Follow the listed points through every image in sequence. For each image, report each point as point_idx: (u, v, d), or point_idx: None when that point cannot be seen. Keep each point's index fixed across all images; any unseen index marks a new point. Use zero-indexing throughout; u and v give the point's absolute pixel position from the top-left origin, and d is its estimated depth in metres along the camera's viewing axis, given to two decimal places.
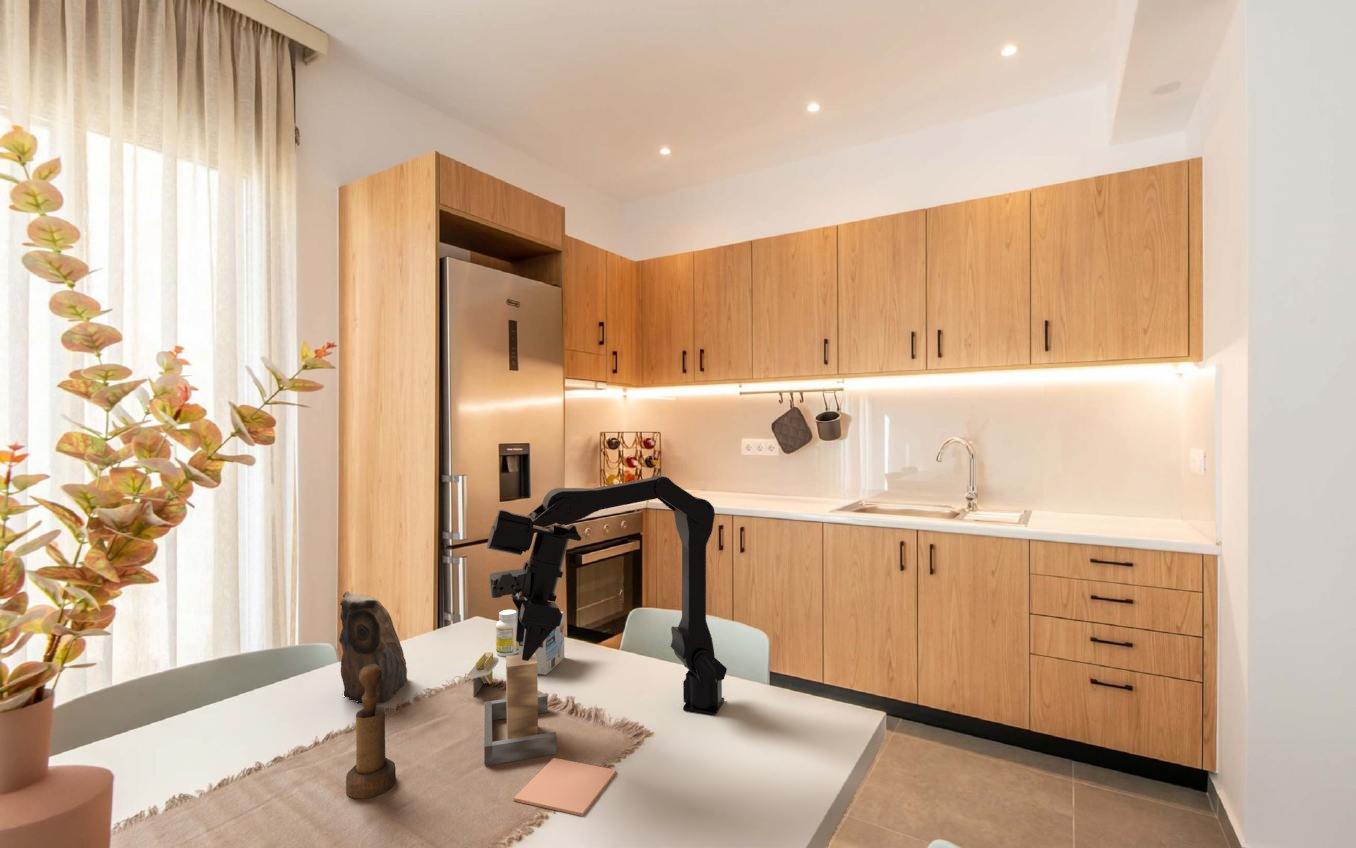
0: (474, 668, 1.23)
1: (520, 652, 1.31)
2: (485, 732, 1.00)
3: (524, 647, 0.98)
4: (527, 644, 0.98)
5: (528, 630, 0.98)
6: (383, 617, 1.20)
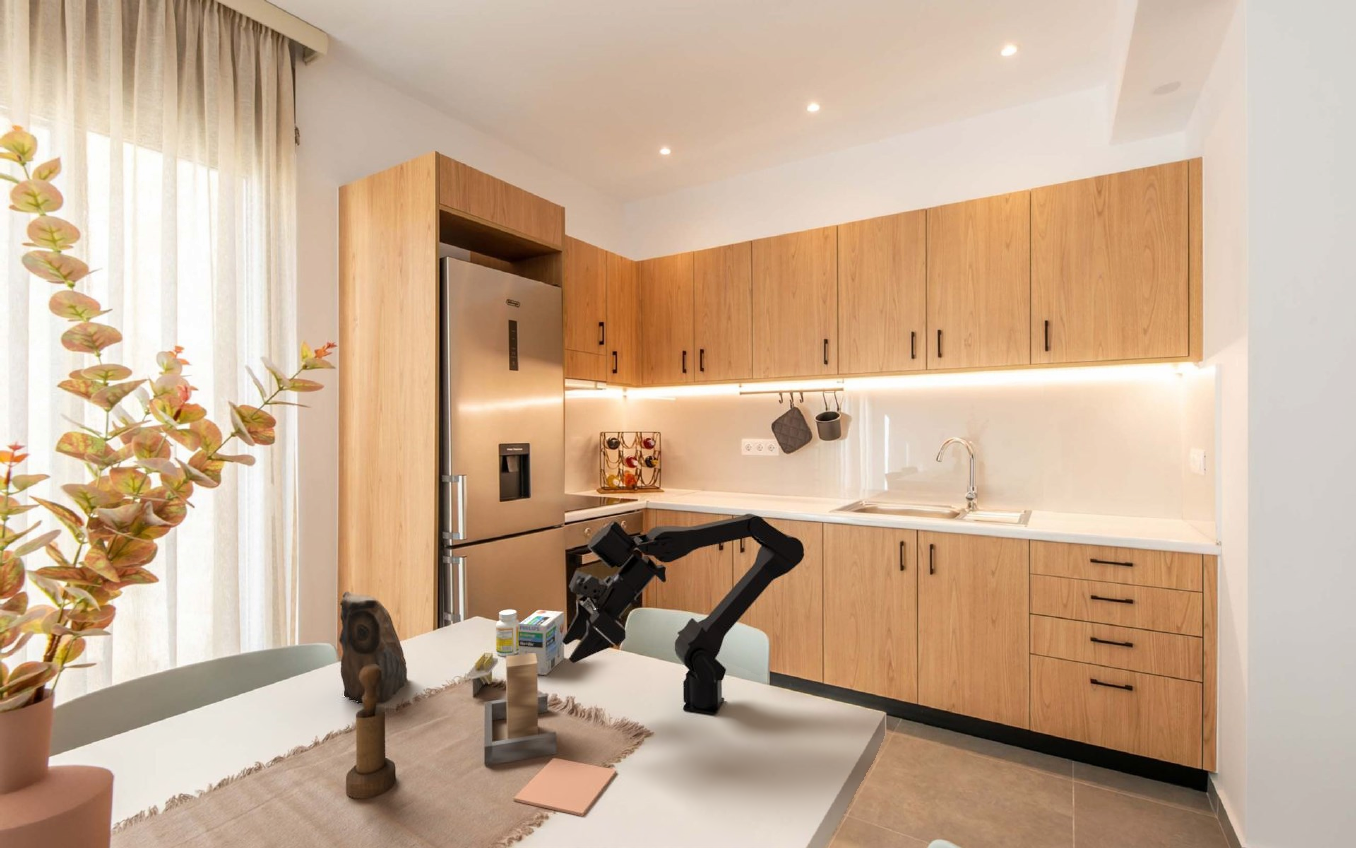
0: (473, 668, 1.23)
1: (520, 652, 1.31)
2: (485, 732, 1.00)
3: (577, 649, 1.03)
4: (581, 647, 1.03)
5: (589, 636, 1.03)
6: (383, 617, 1.20)
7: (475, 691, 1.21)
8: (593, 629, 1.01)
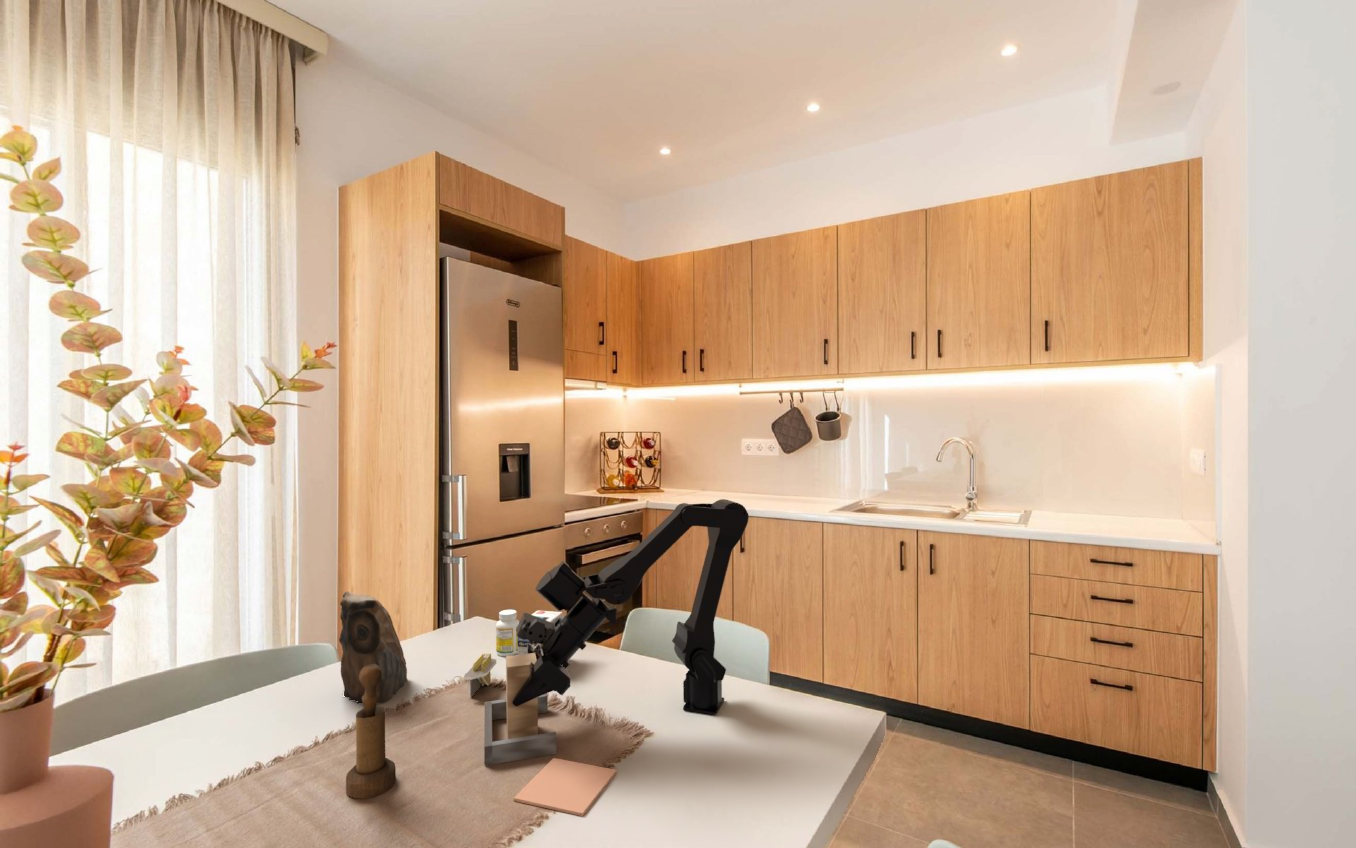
0: (471, 669, 1.22)
1: (519, 653, 1.31)
2: (485, 732, 1.00)
3: (520, 692, 1.02)
4: (524, 691, 1.02)
5: (532, 679, 1.02)
6: (383, 617, 1.20)
7: (473, 692, 1.21)
8: (535, 673, 1.00)
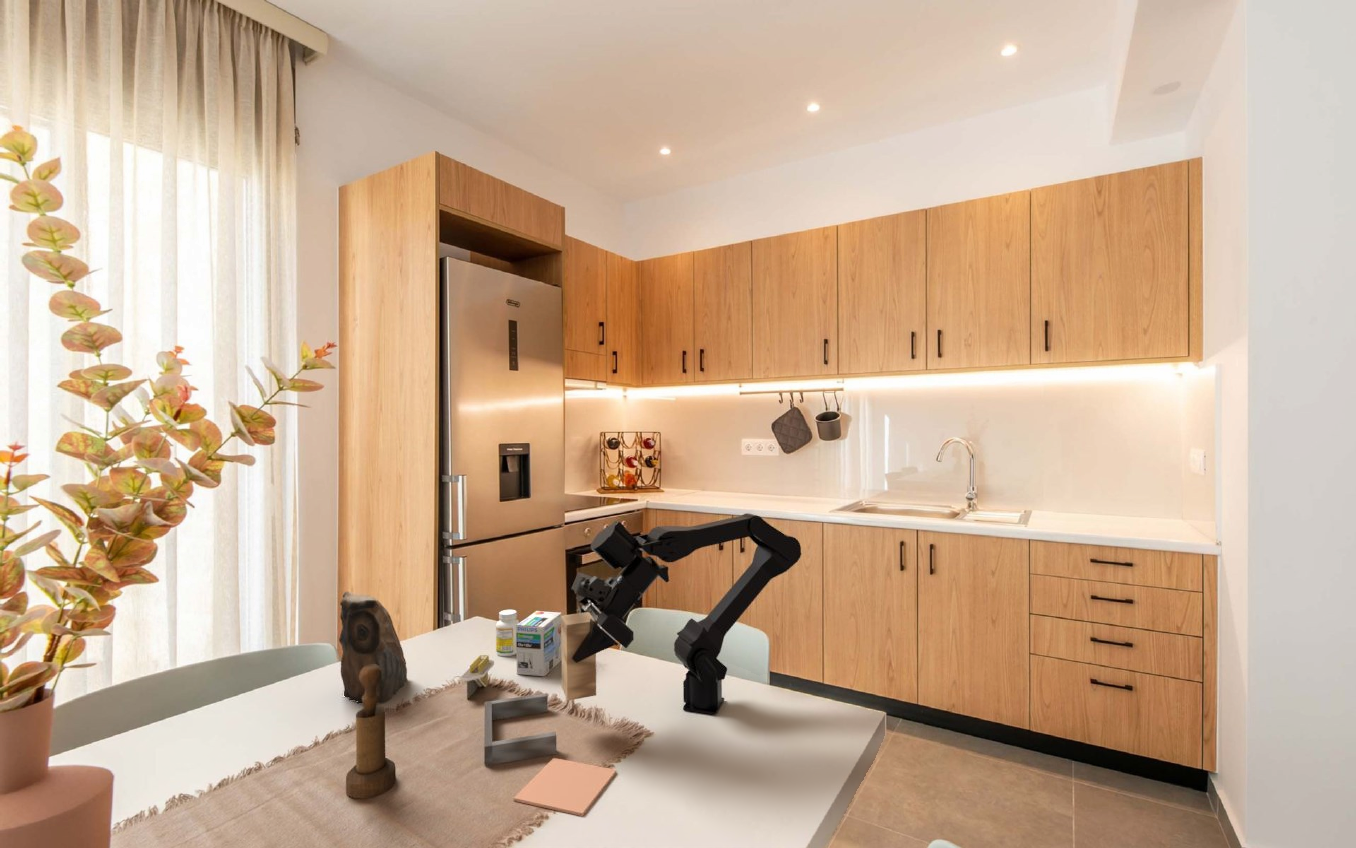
0: (468, 671, 1.22)
1: (518, 653, 1.31)
2: (485, 732, 1.00)
3: (581, 648, 1.03)
4: (585, 647, 1.03)
5: (593, 635, 1.03)
6: (383, 617, 1.20)
7: (469, 694, 1.20)
8: (598, 628, 1.01)
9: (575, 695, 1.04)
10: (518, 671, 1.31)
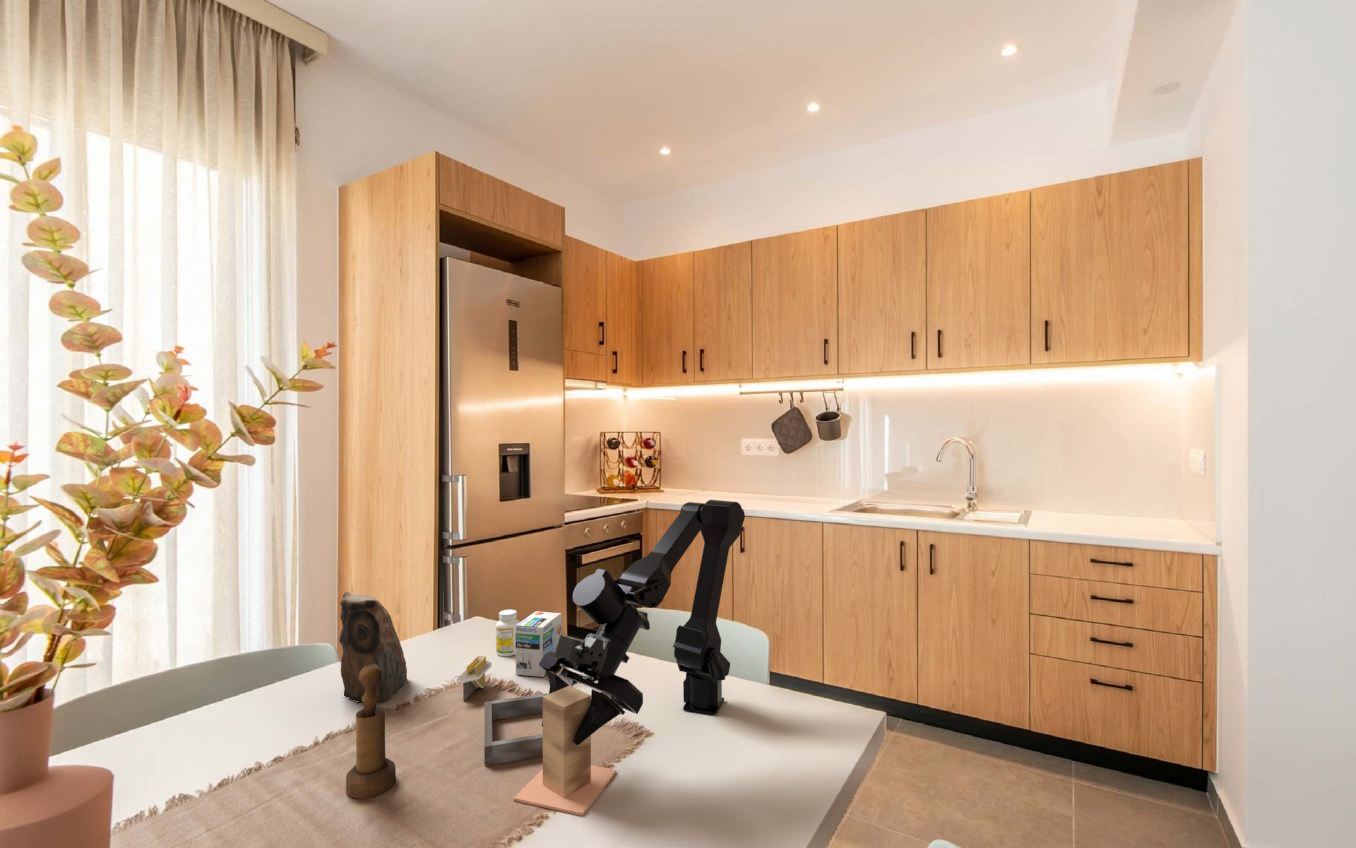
0: (465, 672, 1.21)
1: (517, 654, 1.30)
2: (485, 732, 1.00)
3: (584, 727, 0.87)
4: (588, 724, 0.87)
5: (598, 708, 0.88)
6: (383, 617, 1.20)
7: (466, 695, 1.20)
8: (608, 699, 0.87)
9: (571, 789, 0.88)
10: (517, 671, 1.30)
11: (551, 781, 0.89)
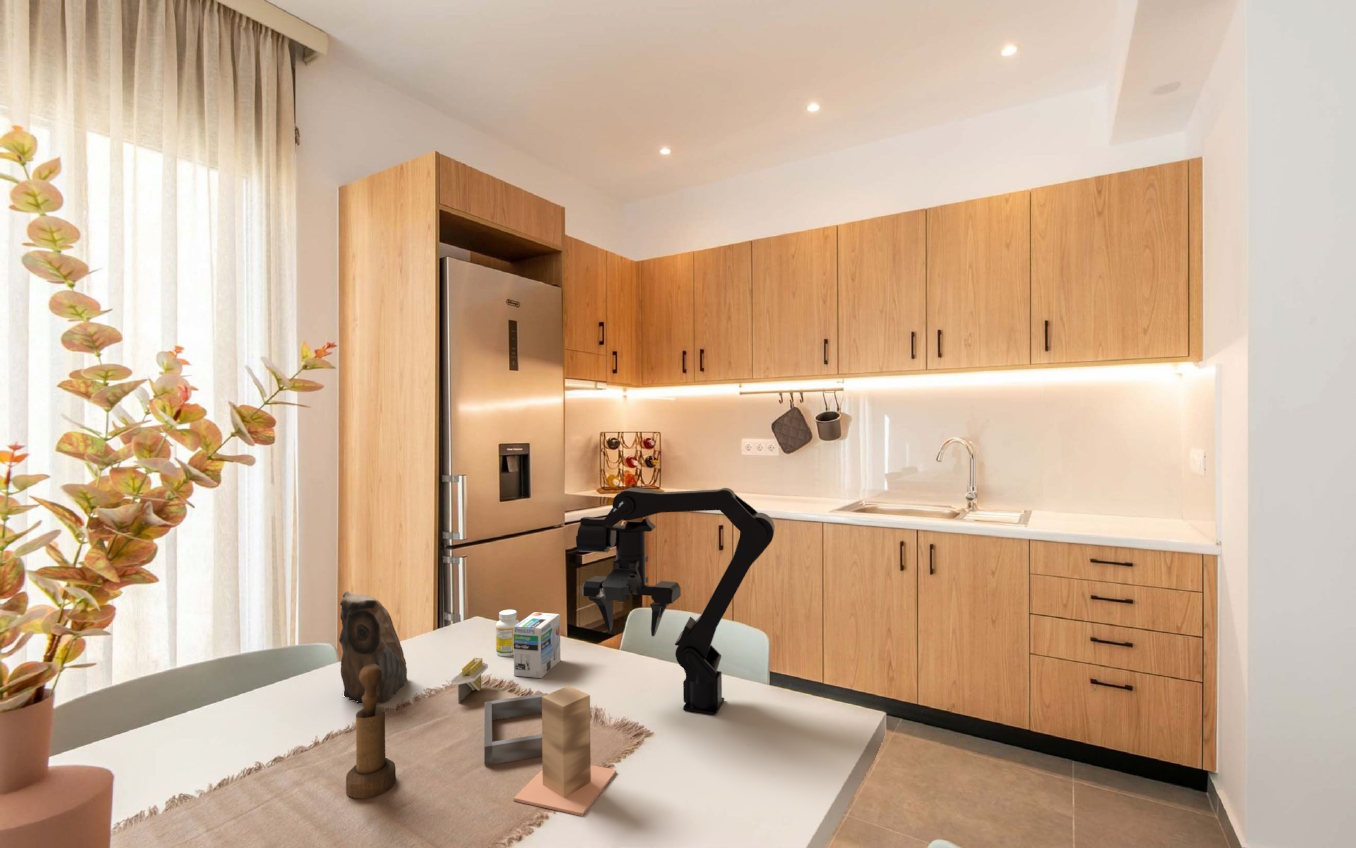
0: (461, 674, 1.20)
1: (515, 655, 1.30)
2: (485, 732, 1.00)
3: (655, 625, 1.16)
4: (657, 622, 1.16)
5: (659, 610, 1.15)
6: (383, 617, 1.20)
7: (461, 697, 1.19)
8: (666, 605, 1.14)
9: (570, 789, 0.88)
10: (515, 673, 1.30)
11: (551, 781, 0.89)
